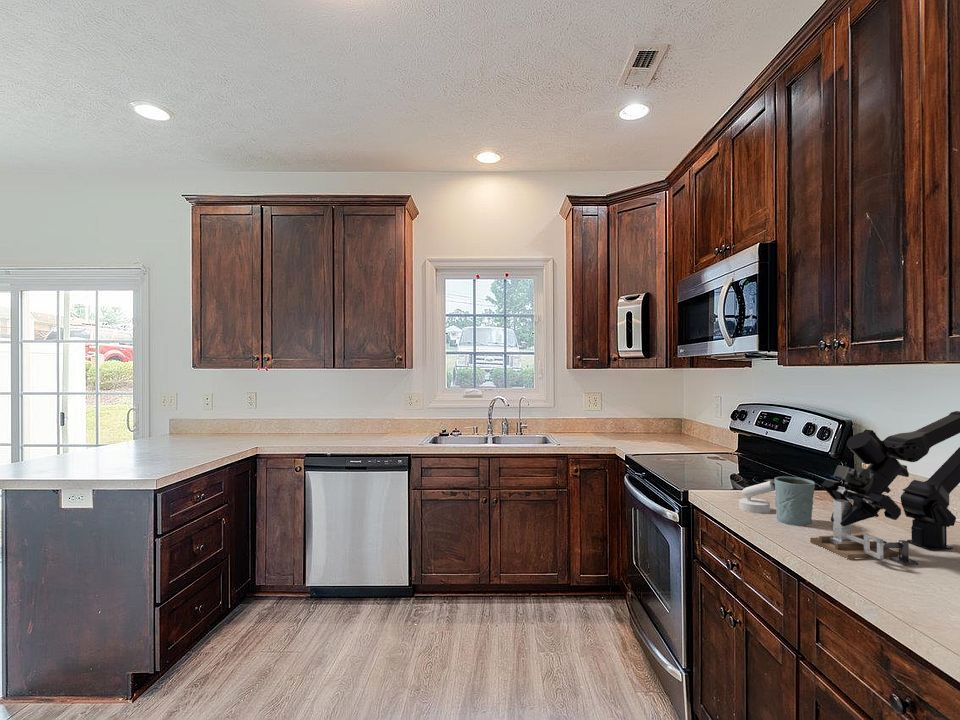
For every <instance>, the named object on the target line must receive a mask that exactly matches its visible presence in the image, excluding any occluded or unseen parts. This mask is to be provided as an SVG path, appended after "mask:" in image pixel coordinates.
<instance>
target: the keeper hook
mask: <svg viewBox="0 0 960 720" xmlns="http://www.w3.org/2000/svg"><path fill="white" fill-rule="evenodd" d="M909 544H910V543H909V542H908V541H907V540H905V539H899V540H898V542H897V541H894V542H887V543H883V547H884V548H889V549H898V557H890V558H889V561H892V562H894V563H896V562H897V564H900V565H901V566H904V567H905V566H918V565H919V562H918V561H916V560H913V559H912V558H910V556H909V554H910V549H909V548H910V546H909Z"/></svg>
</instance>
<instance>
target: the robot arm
mask: <svg viewBox="0 0 960 720" xmlns="http://www.w3.org/2000/svg"><path fill="white" fill-rule="evenodd" d="M958 434H960V411H959V410H955V411H952V412H949V414H948V415H945V416H944V417H942V418H940V419H937V420H935V421H933V422H932V423H929V424H927V425H925V426H923V427H920V428H918V429H916V430H914V431H909V432H901V433H896V434H893V435H892V434H891V435H889V436H887V437H886V438H884V439H883V440H881V439H880V437H879V436H878V435H877V434H876V432H875V431H874V430H872V429H867V428H865V429H864V430H863V431H862V432H858V433H855V434H853V436H850V437H848V439H847V441H846V447H847V448H849V449H850V451H851V452H852V453H853V454H854V455H855V456H856V457H857V459H859V461H860V462H861V463H863V464H865V465H868V466H867V467H866V468H864V467H858V468H857V469H855V468H851V467H848V466H845V465H840V464H838V465H837V466H836V467H835V468H836V469H835V471H834V474H833V476H832V477H834V478H836V479H839V480H841V481H844V484H843V483H842V482H841V481H838V480H833V479H825V480H824V481H823V482H822V483H821V485H820V486H821V488H823V490H824V491H825V492H826V493H827V494H828V495H829V496H830V497H831V498H832V500H841V499H843V500H846V501H849V502H851V508H850V510H849V511H848V512H847V514H846V515H845V516H844V518H843V519H842V521H841V522H840V524H841V525H842V526H847V525H850V524H851V525H852V524H855V523H858V522H860V521H861V522H862V521H864V520H867V519H871V518H874V517H875V518H878V517H879V516H880V515H879V512H880V511H883V510H884V512H883V513H884V516H885V518H888V519H891V520H893V521H897V519H899V518H900V516H901V515H902V508H903V512H904V514H905V517H907V518H911V519H912V525H911V539H907V540H906V541H908V542H909V544H912V545H915V546H917V547H920V548H923V549H925V550H929V551H942V550H943V551H945V550H953V549H954V547H953V546H951V545H948V544H947V543H948V542H947V536H948V535H947V533H948V531H947V528H950V527H953V526H955V523H956V519H957V517H956V516H955V514H953V513H952V511H951V510H950V509H949V506H950V494H951V493H952V492H953V491H954V490H955V488H956V487H958V485H959V484H960V446H959V447H958V448H957V449H956V450H955V451H954V452H953V453H952V454H951V455H950V457H948V458H947V460H946V461H945V462H943V464H942V465H941V466H939V467H938V469H937V470H936V471H935V472H934V473H933V474H932V475H931V476H930V477H929V478H928V479H927V480H925V481H923V480H922V481H921V480H917V479H913V480H912V481H910V482H909V484H908V486H906V487H905V488H903V489H902V491H903V492H902V494H901V495H900V504H901V507H902V508H901V507H900V506H899V505H898V504H897V503H896V502H895V501H894V500H893V499H892V497H891V496H889V495H887V494H889V493H890V492H891V491H892V490H891V488H890V487H889V486H890V485H891V484H892V482H893V481H894V480H895V479H896V478H897V477H898V476H901V477H905V478H909V476H910V475H909V474H910V473H909V471H908V465H905V464H902V463H901V462H900V461H903V462H909V463H917V462H918V461H920V460H921V459H922V458H924V457H925V456H927V455H928V454H929V452H930V449H931V448H932V447H934V446H936V445H938V444H940V443H943V442H944V441H946V440H948V439H951V438H953V437H954V436H956V435H958ZM844 485H845V486H846V487H845V486H844ZM847 488H848V489H847ZM884 493H887V494H884ZM830 517H831V518H830V521H831V523H833V512H832V515H831V516H830Z"/></svg>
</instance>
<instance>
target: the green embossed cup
mask: <svg viewBox="0 0 960 720" xmlns="http://www.w3.org/2000/svg"><path fill="white" fill-rule="evenodd" d="M815 486H816V482H815V481H814V480H811V479H807V478H804V477H795V476H794V477H793V476H777V477H774V488H775V491H774V492H775V493H774V494H775V507H776V510H775V513H776V519H777V522H780V523H781V524H784V525H790V526H795V525H796V527H797V526H798V527H807V526H806V525H808V526H810V525H811V523H812V517H813V514H812V513H813V507H814V506H813V505H814V495H815Z"/></svg>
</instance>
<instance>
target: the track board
mask: <svg viewBox="0 0 960 720" xmlns="http://www.w3.org/2000/svg"><path fill="white" fill-rule="evenodd" d="M852 535H853V536H855V537H858V538H860V539H863V540H864V533H860V534H859V533H858V534H852ZM829 538H833V535H819V536H818V537H810V540H809V541H810V542H812V543H811V544H813V543H814V544H813V545H815V544H816V545H815V546H817V545H818V546H817V547H819V546H820V548H821V547H823V548H822V549H824V548H825V549H824V550H826V549H827V550H826V551H828V550H829V551H828V552H830V551H831V553H832V552H833V554H834V553H836V554H835V555H837V554H838V555H837V556H839V555H840V556H839V557H841V556H842V557H841V558H843V557H844V559H845V558H847V559H846V560H848V559H851V560H856V559H855V558H872V559H877V558H876V557H873V556H871V555H868V554H866V553H864V545H863V544H861V543H858V542H856V541H855V542H845V543H835V544H833V543H831V542H829ZM852 541H853V540H852ZM883 543H888V541H886V540H883ZM870 550H871V551H873V552H876V553H877V542H875V541H873V540H870ZM889 557H899V551H897V550H894V549H893V548H884V547H883V559H888V558H889ZM889 559H890V558H889Z"/></svg>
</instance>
